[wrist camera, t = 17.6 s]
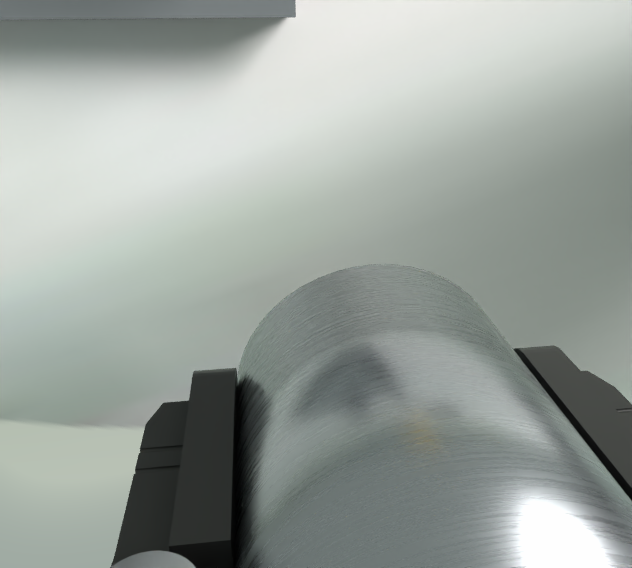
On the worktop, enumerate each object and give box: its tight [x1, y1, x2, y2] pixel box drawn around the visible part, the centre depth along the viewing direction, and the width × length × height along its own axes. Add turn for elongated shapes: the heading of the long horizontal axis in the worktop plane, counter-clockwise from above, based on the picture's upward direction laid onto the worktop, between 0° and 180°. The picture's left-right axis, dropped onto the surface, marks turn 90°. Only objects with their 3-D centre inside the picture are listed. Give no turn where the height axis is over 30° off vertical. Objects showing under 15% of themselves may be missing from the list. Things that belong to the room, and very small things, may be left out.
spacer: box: [235, 265, 632, 568], centre depth 8 cm, size 5×5×6 cm
